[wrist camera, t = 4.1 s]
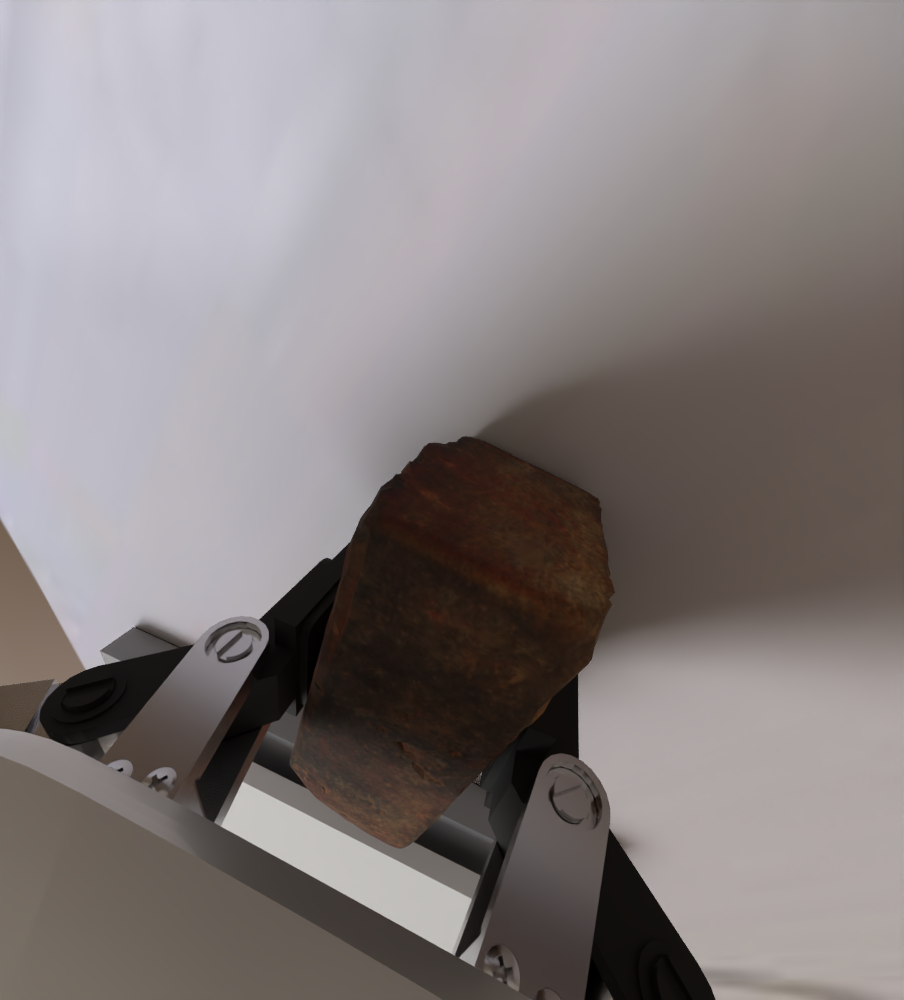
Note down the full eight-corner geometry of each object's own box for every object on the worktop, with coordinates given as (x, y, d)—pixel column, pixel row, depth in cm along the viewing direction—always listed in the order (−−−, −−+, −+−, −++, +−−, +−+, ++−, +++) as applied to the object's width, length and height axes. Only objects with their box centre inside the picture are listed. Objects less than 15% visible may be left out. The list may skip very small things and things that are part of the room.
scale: (596, 839, 14) (610, 1127, 9) (496, 937, 22) (473, 1128, 17) (130, 625, 18) (-47, 748, 13) (179, 771, 25) (79, 886, 20)
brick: (451, 418, 9) (343, 502, 5) (604, 492, 8) (630, 651, 4) (356, 664, 14) (268, 800, 10) (446, 715, 14) (393, 877, 10)
